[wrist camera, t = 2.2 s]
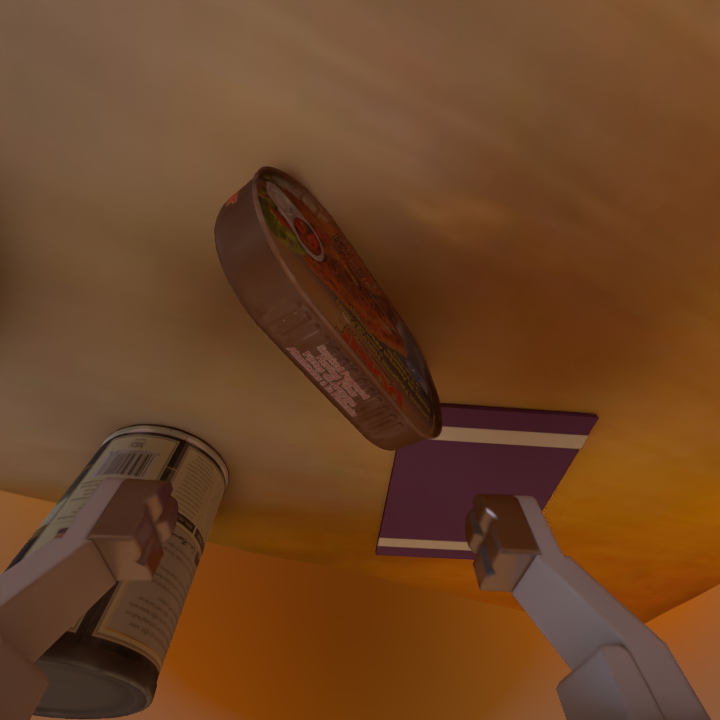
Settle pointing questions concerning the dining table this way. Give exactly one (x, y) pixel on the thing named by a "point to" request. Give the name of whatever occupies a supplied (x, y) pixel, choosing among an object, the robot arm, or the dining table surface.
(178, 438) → the coffee can
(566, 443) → the cloth
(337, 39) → the dining table surface
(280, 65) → the dining table surface
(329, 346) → the tin
